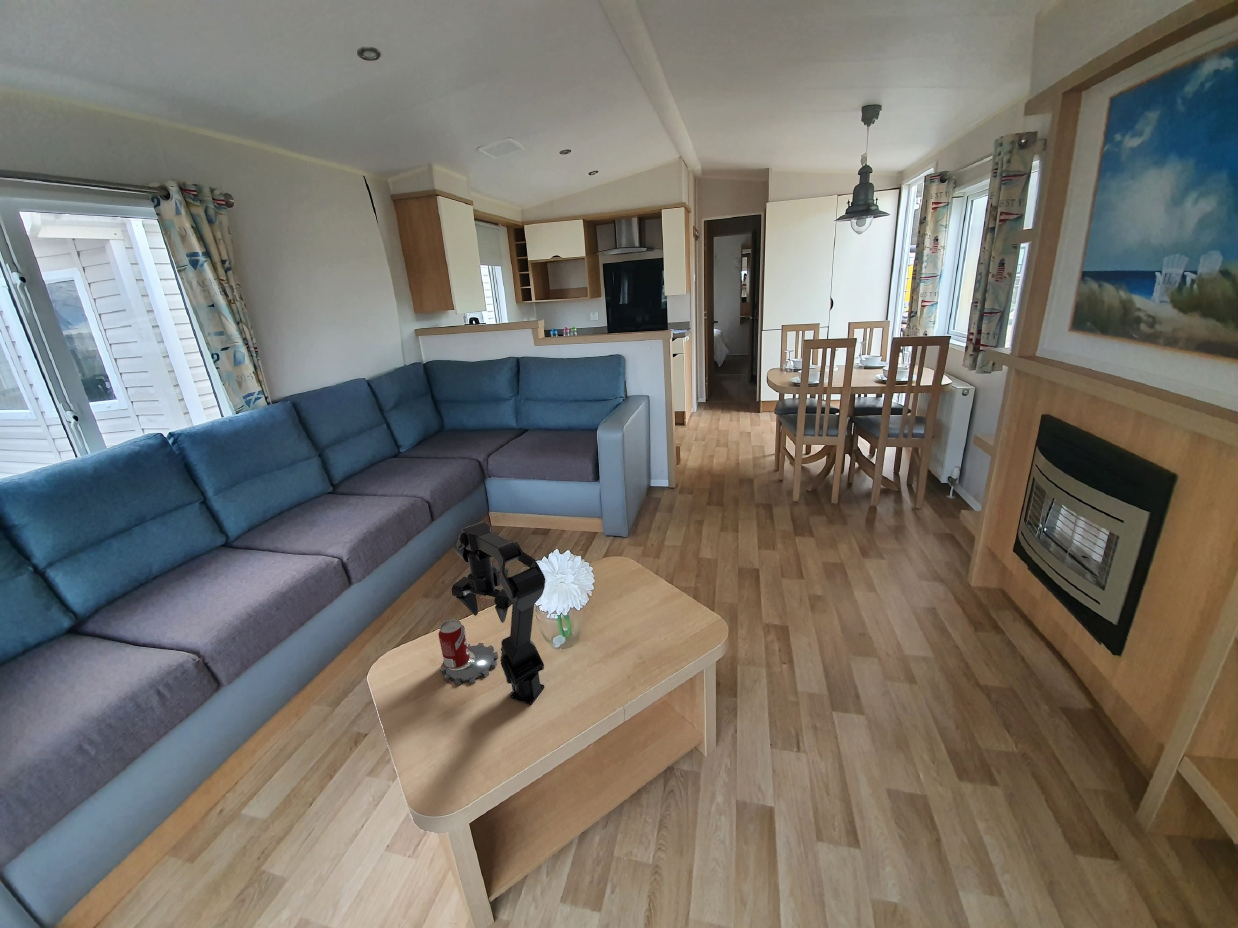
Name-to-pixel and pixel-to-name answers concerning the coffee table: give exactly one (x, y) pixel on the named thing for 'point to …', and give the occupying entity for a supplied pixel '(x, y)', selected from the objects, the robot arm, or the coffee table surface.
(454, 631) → the soda can
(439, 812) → the coffee table surface
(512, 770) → the coffee table surface
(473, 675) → the sprocket
